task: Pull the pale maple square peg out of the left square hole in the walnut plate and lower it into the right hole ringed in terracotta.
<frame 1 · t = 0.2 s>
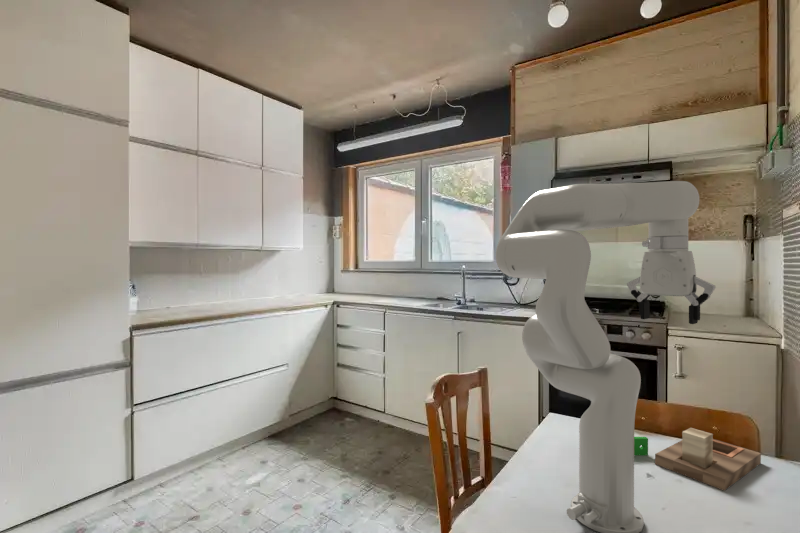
hand: (668, 320, 93), 36 cm above the table, tool pointing down, fingers open, 9 cm apart
socket plate: (708, 463, 101), on the table
pipe clamp: (622, 453, 107), on the table
maple peg: (697, 470, 97), resting in socket plate
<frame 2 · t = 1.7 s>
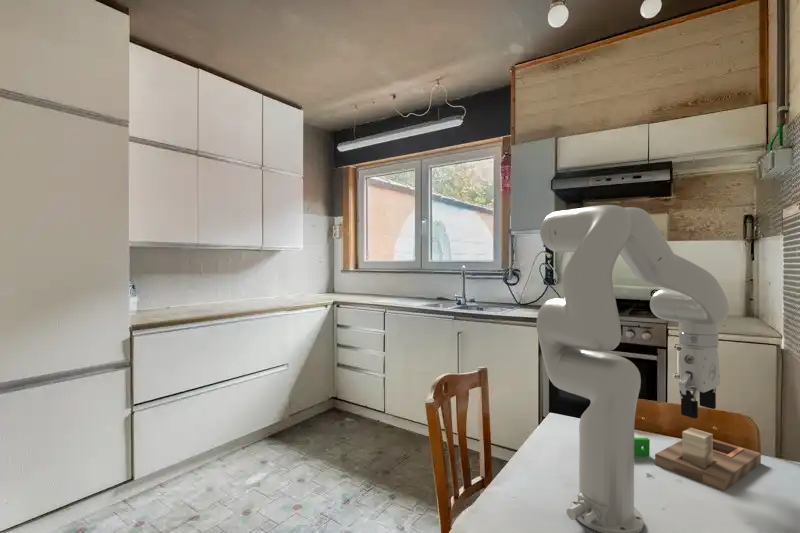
hand: (698, 411, 97), 14 cm above the table, tool pointing down, fingers open, 9 cm apart
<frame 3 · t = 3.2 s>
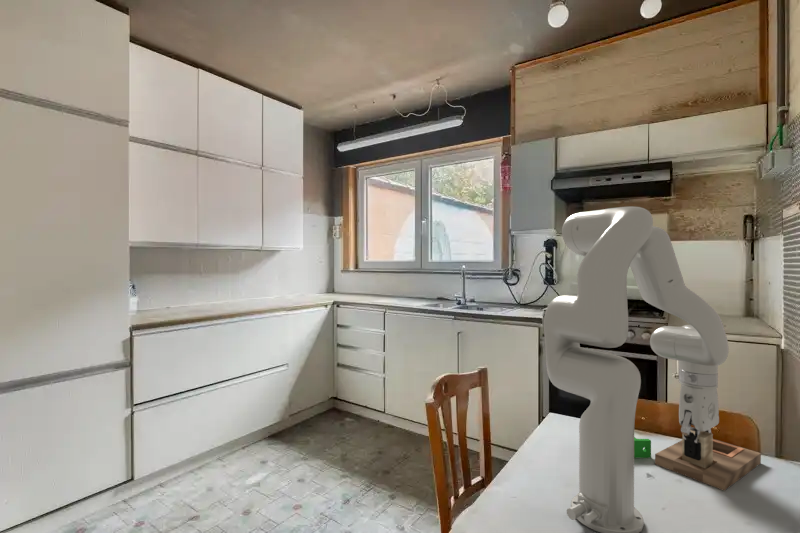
hand: (697, 454, 97), 4 cm above the table, tool pointing down, fingers closed on maple peg, 4 cm apart
maple peg: (697, 470, 97), resting in socket plate, touching gripper
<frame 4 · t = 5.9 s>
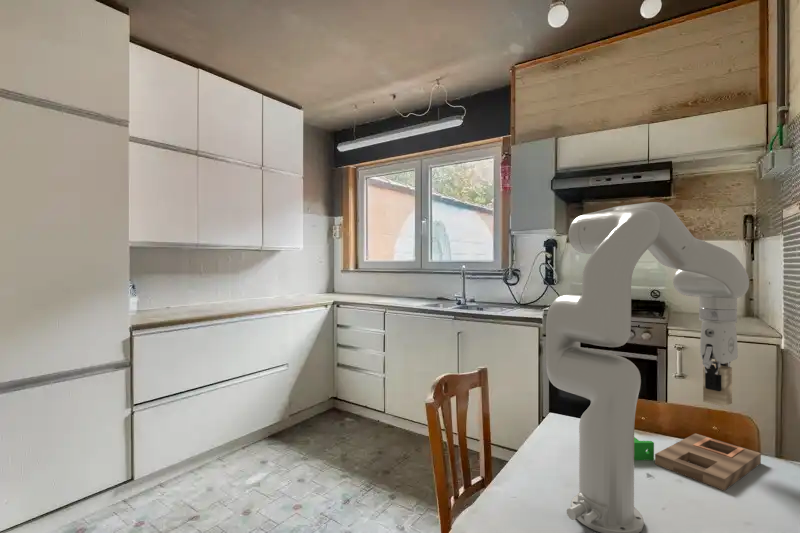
hand: (717, 387, 103), 18 cm above the table, tool pointing down, fingers closed on maple peg, 4 cm apart
pipe clamp: (628, 458, 104), on the table
maple peg: (717, 402, 103), point 14 cm above the table, touching gripper
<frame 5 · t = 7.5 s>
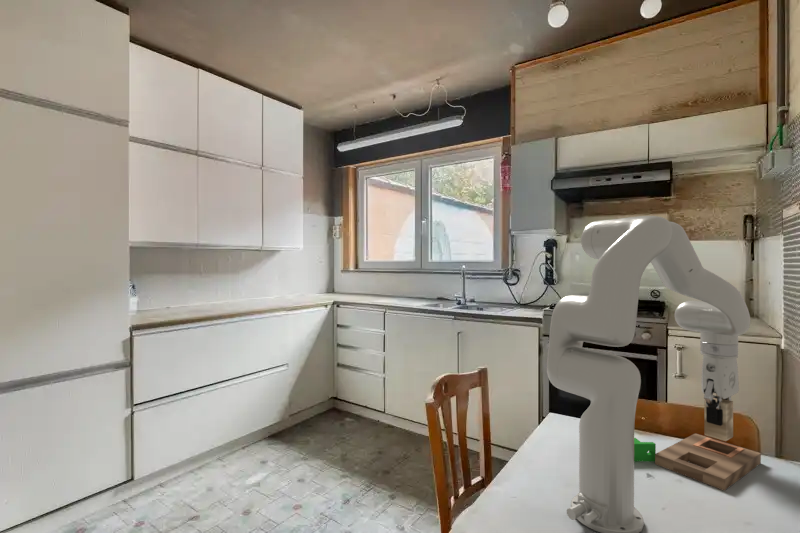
hand: (718, 420, 104), 9 cm above the table, tool pointing down, fingers closed on maple peg, 4 cm apart
maple peg: (718, 435, 104), point 5 cm above the table, touching gripper
when the fingers open (5 cm above the table, at t = 8.6 s): maple peg drops 1 cm, resting in socket plate.
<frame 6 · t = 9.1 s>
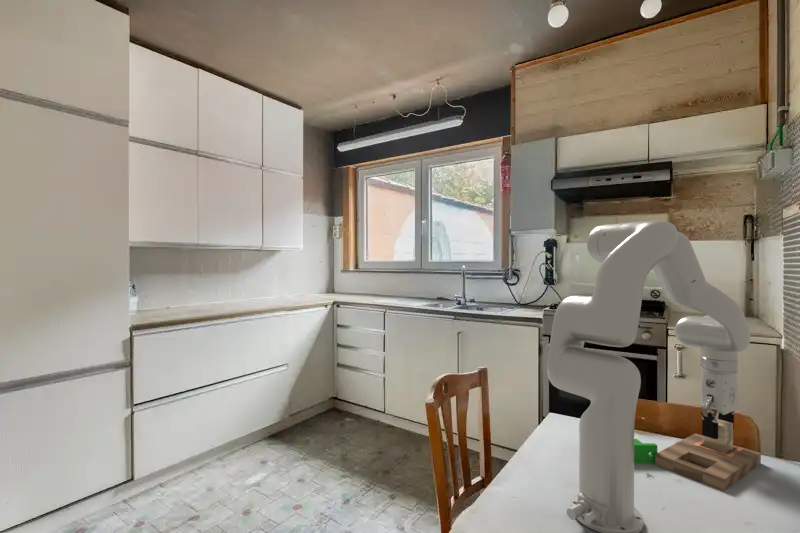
hand: (718, 432, 104), 6 cm above the table, tool pointing down, fingers open, 9 cm apart
maple peg: (718, 457, 104), resting in socket plate
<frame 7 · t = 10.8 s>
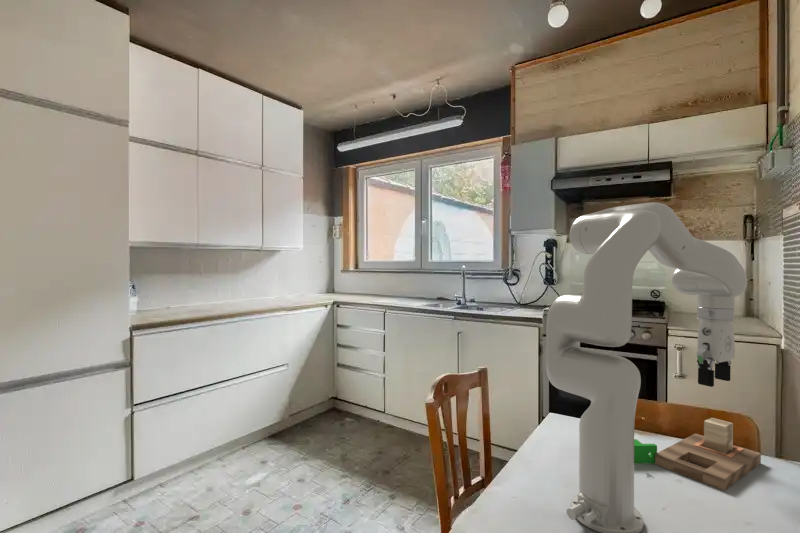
hand: (714, 382, 104), 19 cm above the table, tool pointing down, fingers open, 9 cm apart
pipe clamp: (630, 461, 103), on the table, touching socket plate
everything else where it was.
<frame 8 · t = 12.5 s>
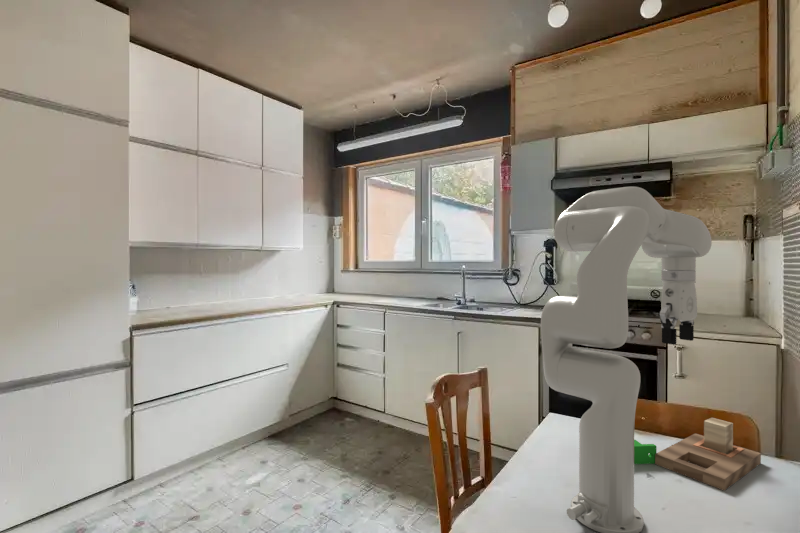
hand: (677, 341, 109), 28 cm above the table, tool pointing down, fingers open, 9 cm apart
pipe clamp: (630, 462, 102), on the table
everything else where it was.
at the end: maple peg 0.0 cm from the target spot on the socket plate, point 0.0 cm above the socket plate's base; maple peg tilted 0°; the gripper is holding nothing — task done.
